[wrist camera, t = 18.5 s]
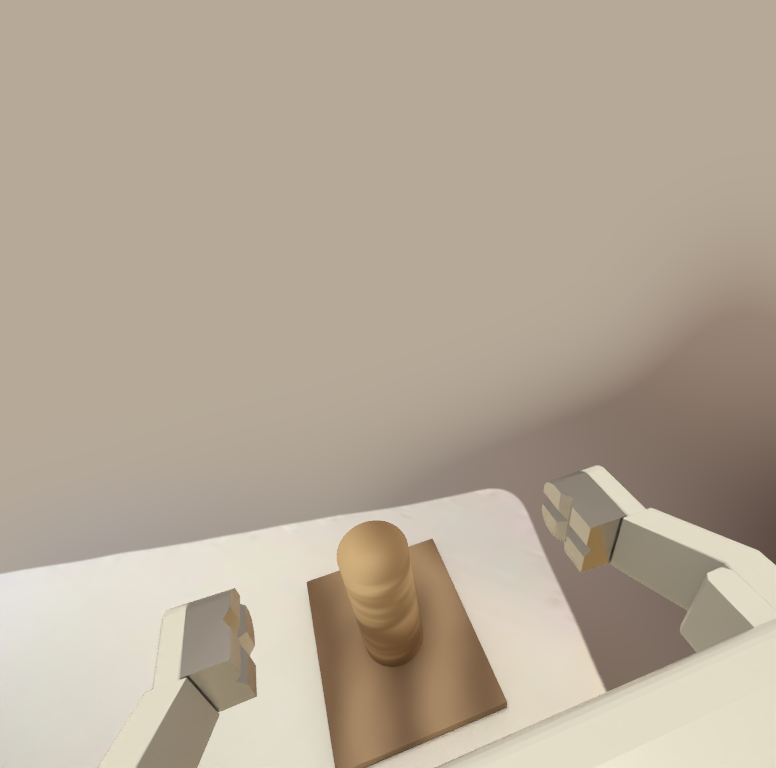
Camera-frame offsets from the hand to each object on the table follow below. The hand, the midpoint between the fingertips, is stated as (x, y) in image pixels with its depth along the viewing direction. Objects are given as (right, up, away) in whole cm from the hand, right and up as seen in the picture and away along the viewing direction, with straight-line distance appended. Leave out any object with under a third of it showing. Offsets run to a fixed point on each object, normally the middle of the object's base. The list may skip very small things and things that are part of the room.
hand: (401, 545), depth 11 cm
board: (0, -18, +27) cm, 32 cm away
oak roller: (0, -17, +26) cm, 31 cm away
